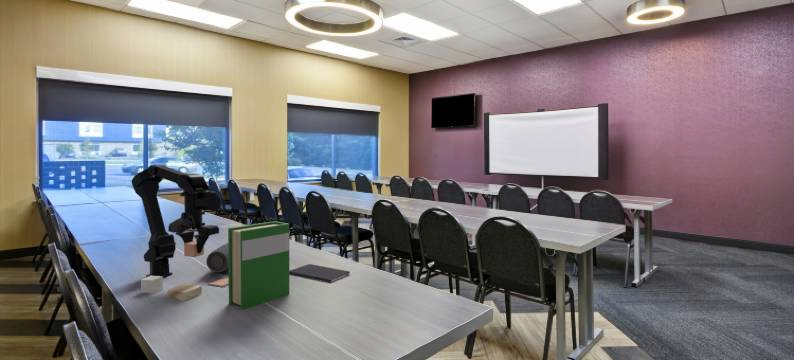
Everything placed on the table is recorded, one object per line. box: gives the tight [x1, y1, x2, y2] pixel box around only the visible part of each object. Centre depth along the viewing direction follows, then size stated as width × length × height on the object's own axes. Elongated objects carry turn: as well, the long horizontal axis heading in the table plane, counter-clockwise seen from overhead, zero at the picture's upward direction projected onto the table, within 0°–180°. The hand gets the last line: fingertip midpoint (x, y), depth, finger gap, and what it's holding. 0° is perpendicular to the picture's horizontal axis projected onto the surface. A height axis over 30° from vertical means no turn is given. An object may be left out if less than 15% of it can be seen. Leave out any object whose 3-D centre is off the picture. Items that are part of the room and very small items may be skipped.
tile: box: [207, 278, 229, 288], centre depth 151 cm, size 7×7×1 cm
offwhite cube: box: [140, 276, 164, 294], centre depth 142 cm, size 4×4×4 cm
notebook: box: [289, 263, 351, 283], centre depth 165 cm, size 13×2×21 cm
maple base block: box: [167, 283, 203, 302], centre depth 138 cm, size 7×7×3 cm
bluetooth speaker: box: [205, 242, 229, 273], centre depth 172 cm, size 23×9×10 cm, turn 179°
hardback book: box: [227, 221, 290, 311], centre depth 135 cm, size 18×7×24 cm, turn 143°
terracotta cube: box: [183, 240, 205, 258], centre depth 151 cm, size 4×4×4 cm
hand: (194, 252), depth 151 cm, fingers closed on terracotta cube, 4 cm apart
